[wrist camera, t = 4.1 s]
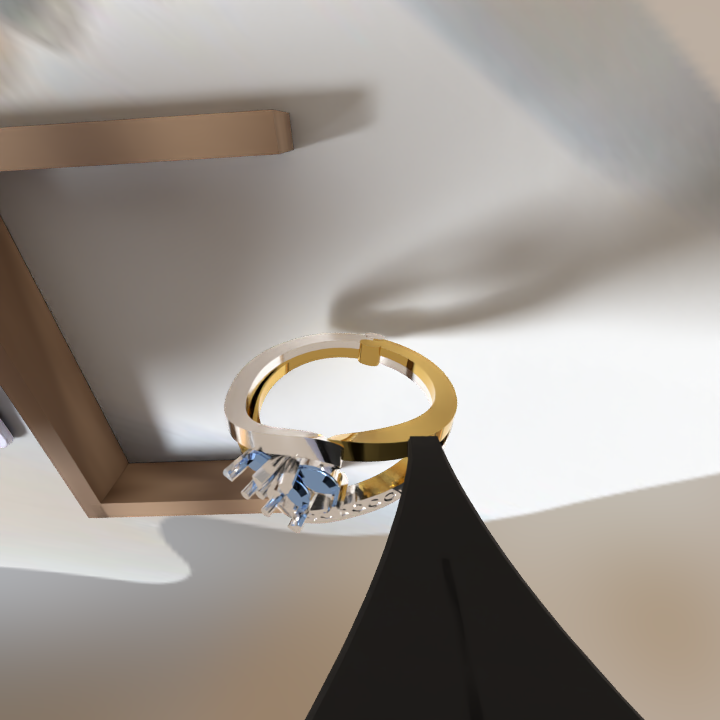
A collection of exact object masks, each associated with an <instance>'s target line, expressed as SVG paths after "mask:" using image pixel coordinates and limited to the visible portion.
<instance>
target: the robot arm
mask: <svg viewBox="0 0 720 720" xmlns="http://www.w3.org/2000/svg"><path fill="white" fill-rule="evenodd" d="M12 441H13V436H12V434H11V433H10V431H9V430H8V428H7V427H6V426H5V424H4V423H3V421H2V420H1V419H0V448H4V447H7V446H8V445H9V444H10V443H11V442H12ZM305 720H644V719H643V718H642V717H641V716H640V715H639V714H638V712H637V711H635V709H634V708H633V707H632V706H631V705H630V704H629V703H628V702H627V701H626V700H625V699H624V698H623V697H622V696H621V694H620V693H619V692H618V691H617V690H616V689H615V688H614V686H613V685H612V684H611V683H610V682H609V681H608V680H607V678H606V677H605V676H604V675H603V674H602V673H601V672H600V671H599V669H598V668H597V667H596V666H595V665H594V664H593V663H592V662H591V660H590V659H589V658H588V657H587V656H586V655H585V654H584V652H583V651H582V650H581V649H580V648H579V647H578V646H577V645H576V644H575V642H574V641H573V640H572V639H571V638H570V637H569V636H568V634H567V633H566V632H565V631H564V630H563V628H562V627H561V626H560V625H559V623H558V622H557V621H556V620H555V619H554V617H553V616H552V615H551V614H550V612H548V610H547V609H546V608H545V606H544V605H543V604H542V603H541V601H540V600H539V599H538V598H537V596H536V595H535V594H534V592H533V591H532V590H531V588H530V587H529V586H528V585H527V583H526V582H525V581H524V580H523V578H522V577H521V575H520V574H519V573H518V571H517V570H516V569H515V567H514V566H513V565H512V563H511V562H510V560H509V559H508V558H507V556H506V555H505V553H504V552H503V551H502V549H501V548H500V546H499V545H498V543H497V542H496V541H495V539H494V538H493V536H492V535H491V533H490V532H489V530H488V529H487V527H486V525H485V524H484V522H483V521H482V519H481V518H480V516H479V514H478V513H477V511H476V510H475V508H474V506H473V505H472V503H471V501H470V500H469V498H468V496H467V495H466V493H465V491H464V490H463V488H462V486H461V484H460V483H459V481H458V479H457V477H456V475H455V473H454V471H453V469H452V468H451V466H450V464H449V462H448V460H447V457H446V455H445V453H444V451H443V449H442V446H441V444H440V441H439V439H438V436H410V439H408V462H407V469H406V474H405V480H404V484H403V488H402V492H401V496H400V500H399V504H398V508H397V512H396V515H395V518H394V521H393V524H392V527H391V530H390V534H389V537H388V540H387V543H386V546H385V549H384V551H383V554H382V557H381V559H380V562H379V565H378V567H377V570H376V573H375V575H374V577H373V580H372V582H371V585H370V587H369V590H368V592H367V594H366V597H365V599H364V601H363V604H362V606H361V608H360V610H359V612H358V615H357V617H356V619H355V621H354V624H353V626H352V628H351V630H350V632H349V634H348V637H347V639H346V641H345V643H344V645H343V647H342V649H341V651H340V653H339V655H338V657H337V659H336V661H335V663H334V665H333V667H332V669H331V671H330V673H329V675H328V677H327V679H326V681H325V683H324V685H323V686H322V688H321V691H320V692H319V694H318V696H317V698H316V700H315V702H314V704H313V706H312V708H311V710H310V711H309V713H308V715H307V717H306V719H305Z"/></svg>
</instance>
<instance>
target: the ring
mask: <svg viewBox="0 0 720 720" xmlns="http://www.w3.org/2000/svg"><path fill="white" fill-rule="evenodd" d="M333 357H348V358H357V359H358V361H359V362H360V363H362V364H365V365H369V366H377V365H378V364H379V363H380V364H383V365H385V366H388V367H390V368H393V369H395V370H397V371H399V372H400V373H402V374H404V375H405V376H407V377H408V378H410V379H411V380H412V381H413V382H414V383H416V384H417V385H418V386H419V388H420V389H421V390H422V391H423V393H424V394H425V396H426V397H427V399H428V401H429V404H430V406H431V407H430V409H429V410H428V411H426V412H425V413H424V414H422V415H421V416H419V417H417V418H415V419H412V420H410V421H407V422H404V423H401V424H398V425H394V426H390V427H386V428H381V429H376V430H370V431H364V432H357V433H349V434H340V435H335V436H332V437H330V438H326V437H325V436H322V435H320V434H317V433H313V432H308V431H303V430H295V429H285V428H277V427H271V426H267V425H263V424H261V423H260V419H259V417H260V410H261V406H262V403H263V401H264V399H265V397H266V395H267V393H268V392H269V390H270V389H271V388H272V386H273V385H274V384H275V383H276V382H277V381H278V380H279V379H280V378H281V377H283V376H284V375H285V374H287V373H288V372H289V371H291V370H293V369H295V368H296V367H298V366H301V365H303V364H305V363H308V362H311V361H315V360H319V359H324V358H333ZM456 409H457V397H456V393H455V390H454V387H453V385H452V384H451V382H450V380H449V379H448V377H447V376H446V375H445V374H444V372H443V371H442V370H441V369H440V368H439V367H437V366H436V365H435V364H434V363H433V362H431V361H430V360H429V359H427V358H426V357H424V356H422V355H421V354H419V353H417V352H415V351H413V350H411V349H409V348H407V347H404V346H402V345H399V344H397V343H394V342H391V341H388V340H385V337H384V336H383V335H380V334H377V333H365V335H362V334H354V333H322V334H314V335H308V336H303V337H299V338H295V339H292V340H289V341H286V342H283V343H281V344H278V345H276V346H273V347H271V348H269V349H267V350H265V351H264V352H262V353H260V354H259V355H257V356H256V357H254V358H253V359H252V360H251V361H249V362H248V363H247V364H246V365H245V366H244V367H243V368H242V369H241V371H240V372H239V373H238V374H237V376H236V377H235V379H234V380H233V382H232V384H231V386H230V388H229V390H228V393H227V395H226V399H225V403H224V411H225V416H226V421H227V426H228V430H229V432H230V434H231V436H232V437H233V438H234V440H236V441H237V442H238V444H239V447H240V450H241V453H242V455H241V456H240V457H238V458H237V459H236V460H235V461H234V462H232V463H231V464H230V465H229V466H228V467H227V468H225V469H224V471H223V475H224V476H225V477H227V478H228V479H229V480H230V481H233V480H235V479H236V478H237V477H238V476H239V475H240V474H241V473H242V472H244V471H245V470H246V469H247V468H248V467H250V468H251V469H252V470H253V471H254V474H253V475H252V478H253V480H252V481H251V482H250V483H249V484H248V485H247V486H246V487H245V488H244V489H243V490H242V491H241V494H242V496H243V497H244V498H245V499H247V500H249V499H250V498H251V497H252V496H253V495H254V494H255V493H256V495H257V496H258V497H259V498H260V499H262V500H264V499H265V498H266V497H268V498H269V501H268V502H267V503H266V504H265V505H264V506H263V507H262V509H261V512H262V513H263V514H264V515H265V516H267V517H270V515H271V514H272V513H273V512H274V511H275V509H276V508H278V509H279V510H280V511H281V512H282V513H284V514H285V515H287V516H288V517H290V518H292V519H291V521H290V523H289V525H288V528H290V529H291V530H293V531H294V532H296V533H298V534H299V533H300V531H301V529H302V527H303V525H304V523H328V522H334V521H339V520H344V519H348V518H352V517H356V516H359V515H363V514H366V513H369V512H372V511H375V510H377V509H380V508H382V507H385V506H387V505H389V504H391V503H393V502H394V501H396V500H398V499H400V496H401V492H402V488H403V484H404V480H405V474H406V469H407V462H408V439H410V436H438V439H439V441H440V444H441V446H442V449H443V450H444V448H445V446H446V443H447V440H448V437H449V435H450V432H451V429H452V425H453V420H454V416H455V413H456ZM401 458H403V459H402V460H400V461H399V462H398V463H396V464H395V465H394V466H392V467H391V468H389V469H387V470H386V471H384V472H382V473H380V474H379V475H377V476H375V477H372V478H370V479H368V480H365V481H363V482H360V483H357V484H354V485H351V486H348V478H347V476H346V475H345V473H344V472H342V473H341V472H340V470H339V469H341V466H342V462H343V460H344V461H361V462H372V461H387V460H395V459H401ZM347 486H348V487H347Z"/></svg>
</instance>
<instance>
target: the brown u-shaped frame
mask: <svg viewBox="0 0 720 720" xmlns="http://www.w3.org/2000/svg"><path fill="white" fill-rule="evenodd" d="M291 150H294V148H293V140H292V132H291V125H290V117H289V113H286V112H282V111H277V110H258V111H243V112H228V113H213V114H198V115H183V116H168V117H153V118H138V119H123V120H108V121H92V122H77V123H62V124H47V125H32V126H17V127H2V128H0V171H15V170H31V169H47V168H64V167H80V166H96V165H112V164H128V163H144V162H160V161H176V160H192V159H208V158H225V157H241V156H257V155H273V154H281V153H284V152H288V151H291ZM0 385H1V387H2V388H3V390H4V391H5V393H6V394H7V396H8V397H9V399H10V400H11V402H12V403H13V405H14V406H15V408H16V409H17V411H18V412H19V414H20V415H21V417H22V418H23V420H24V421H25V423H26V424H27V426H28V427H29V429H30V430H31V432H32V433H33V435H34V436H35V438H36V439H37V441H38V442H39V444H40V445H41V447H42V448H43V450H44V451H45V453H46V454H47V456H48V457H49V459H50V460H51V462H52V463H53V465H54V466H55V468H56V469H57V471H58V472H59V474H60V475H61V477H62V478H63V480H64V481H65V483H66V484H67V486H68V487H69V489H70V490H71V492H72V493H73V495H74V496H75V498H76V499H77V501H78V502H79V504H80V505H81V507H82V509H83V510H84V512H85V513H86V515H87V516H88V518H107V517H143V516H179V515H215V514H250V513H262V512H261V509H262V507H263V506H264V505H265V504H266V503H267V502H268V501H269V498H268V497H266V498H265V499H264V500H262V499H260V498H259V497H258V496H257V495H256V493H255V494H254V495H253V496H252V497H251V498H250V499H249V500H247V499H245V498H244V497H243V496H242V494H241V491H242V490H243V489H244V488H245V487H246V486H247V485H248V484H249V483H250V482H251V481H252V480H253V478H252V475H253V474H254V471H253V470H252V469H251V468H250V467H248V468H247V469H246V470H245V471H244V472H242V473H241V474H240V475H239V476H238V477H237V478H236V479H235V480H233V481H230V480H229V479H228V478H227V477H225V476H224V475H223V471H224V469H225V468H227V467H228V466H229V465H230V464H231V463H232V462H234V461H235V460H218V461H188V462H158V463H128V461H127V459H126V457H125V455H124V453H123V451H122V449H121V447H120V445H119V443H118V441H117V440H116V438H115V436H114V434H113V432H112V430H111V428H110V426H109V424H108V422H107V420H106V418H105V416H104V415H103V413H102V411H101V409H100V407H99V405H98V403H97V401H96V399H95V397H94V395H93V393H92V391H91V390H90V388H89V386H88V384H87V382H86V380H85V378H84V376H83V374H82V372H81V370H80V368H79V366H78V364H77V363H76V361H75V359H74V357H73V355H72V353H71V351H70V349H69V347H68V345H67V343H66V341H65V339H64V338H63V336H62V334H61V332H60V330H59V328H58V326H57V324H56V322H55V320H54V318H53V316H52V314H51V313H50V311H49V309H48V307H47V305H46V303H45V301H44V299H43V297H42V295H41V293H40V291H39V289H38V287H37V286H36V284H35V282H34V280H33V278H32V276H31V274H30V272H29V270H28V268H27V266H26V264H25V262H24V261H23V259H22V257H21V255H20V253H19V251H18V249H17V247H16V245H15V243H14V241H13V239H12V237H11V235H10V234H9V232H8V230H7V228H6V226H5V224H4V222H3V220H2V218H1V216H0ZM273 513H282V512H281V511H280V510H279V509H278V508H276V509H275V511H274V512H273Z"/></svg>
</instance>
